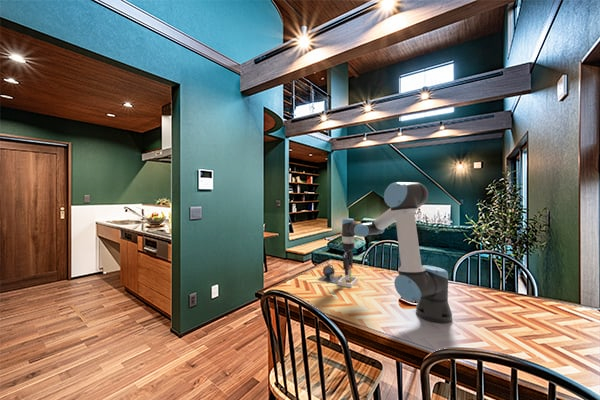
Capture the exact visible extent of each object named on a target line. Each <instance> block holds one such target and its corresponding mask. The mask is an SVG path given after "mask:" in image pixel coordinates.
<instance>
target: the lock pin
mask: <svg viewBox="0 0 600 400" xmlns="http://www.w3.org/2000/svg"><path fill="white" fill-rule="evenodd" d="M351 276H352V268H351V265H349V280H346V279H345V280H344V282H347V283H351V282H352V280H351Z"/></svg>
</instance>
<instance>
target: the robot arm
mask: <svg viewBox="0 0 600 400" xmlns="http://www.w3.org/2000/svg"><path fill="white" fill-rule="evenodd" d="M386 187H387V188H386V189H385V190H384V193H383V194H384V195H383V200H384V203H385V204H386V206H388V207H389V208H388V209H387V210H386V211H385V212H383V213H382V214H381V215H380V216H378V217H377V218H375V219H374V220H373V221H370V222H360V223H359V222H358V223H357V222H355V219H354V218H349V217H348V218H346V217H345V218H343V219H342V224H341V242H342V243H341V248H342V249H343V250H344V252H343V254H342V268H343V270H344V276H345V279H346V280H349V265H351V269H353V267H354V266H353V265H354V263H353V261H354V260H353V259H354V249H355V236H356V237H360V238H365V237H367V236H369V235H370V236H373V235H379V234H380V235H381V234H383V233H384V232H385V229H386V228H389V226H391V225H392V224H394V223H395V226H396V227H395V228H396V234H397V243H398V250H399V251H398V252H399V259H400V266H399V267H398V271H397V272H398V275H397V276H396V277H395V279H394V282H393V283H394V289H395V290H396V293H397V294H398V295H399V296H400V297H401V298H402V299H403V300H405V301H407V302H417V304H416V306H415V311H416V312H415V313H416V314H417V315H418V316H419V317H421V318H422V319H424V320H427V321H429V322H432V323H437V324H446V323H450V322H451V321H452V319H453V313H452V310H451V307H450V303H449V301H448V300H449V299H448V298H449V279H450V278H449V273H448V271H447V270H446V269H444V268H441V267H437V266H433V265H428V264H426V265H425V264H424V265H422V259H421V251H420V245H419V237H418V236H419V235H418V230H417V223H416V222H417V221H416V214H415V213H416V212H417V211H418V209H420V208H421V206H423V205H424V204H425V203H426V202H427V201H428V199H429V191H428V189H427V187H426V186H425V185H424V184H422V183H421V182H416V181H415V182H410V181H409V182H407V181H397V182H392V183H390V184H389V185H388V186H386Z"/></svg>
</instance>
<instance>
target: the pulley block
mask: <svg viewBox="0 0 600 400" xmlns="http://www.w3.org/2000/svg"><path fill="white" fill-rule="evenodd" d="M333 266H334V265H333V264H327V265H326V266H324V267H323V269H322V273H323V275H322V276H321V277H319V278H317V281H321V282H325V283H330V284H334V285H338V281H339V280H340V279H341V278H342V277H343V274H339V276H335V274H336V271H335V268H334V267H333Z"/></svg>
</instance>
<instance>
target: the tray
mask: <svg viewBox="0 0 600 400" xmlns="http://www.w3.org/2000/svg"><path fill="white" fill-rule="evenodd" d="M358 282H359V277H357V276H352V275H351V283H347V282H345V275H344V276H343V275H342V278H341V279H340V280H339V281H338V283H337V285H338V286H343V287H346V288H347V287H348V288H353V287H354V286H355V285H356V284H357V283H358Z"/></svg>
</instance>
